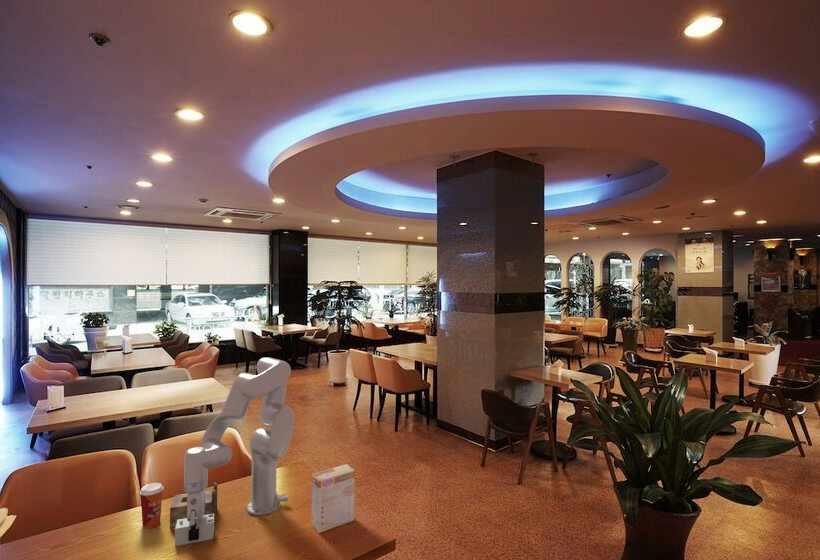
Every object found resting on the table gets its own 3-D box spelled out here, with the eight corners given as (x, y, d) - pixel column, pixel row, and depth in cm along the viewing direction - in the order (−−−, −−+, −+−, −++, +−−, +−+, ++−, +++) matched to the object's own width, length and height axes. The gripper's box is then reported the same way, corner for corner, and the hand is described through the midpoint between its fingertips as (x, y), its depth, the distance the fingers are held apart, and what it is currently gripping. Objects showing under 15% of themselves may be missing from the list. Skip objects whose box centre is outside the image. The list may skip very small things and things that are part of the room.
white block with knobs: (214, 529, 160) (214, 511, 160) (213, 538, 155) (213, 519, 155) (177, 536, 156) (177, 517, 156) (174, 546, 150) (175, 526, 150)
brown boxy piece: (217, 506, 176) (217, 480, 176) (214, 519, 166) (214, 492, 166) (175, 512, 171) (175, 486, 171) (169, 526, 162) (170, 498, 162)
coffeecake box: (346, 512, 173) (346, 463, 173) (354, 520, 167) (355, 470, 167) (310, 524, 164) (311, 473, 164) (318, 533, 158) (319, 480, 158)
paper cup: (152, 531, 159) (152, 492, 159) (134, 528, 160) (134, 490, 160) (168, 519, 166) (168, 482, 166) (150, 517, 168) (151, 480, 168)
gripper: (204, 493, 148) (203, 546, 148) (210, 472, 164) (209, 519, 165) (179, 497, 146) (178, 550, 146) (188, 474, 162) (187, 523, 162)
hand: (195, 533), depth 155 cm, fingers closed on white block with knobs, 6 cm apart
